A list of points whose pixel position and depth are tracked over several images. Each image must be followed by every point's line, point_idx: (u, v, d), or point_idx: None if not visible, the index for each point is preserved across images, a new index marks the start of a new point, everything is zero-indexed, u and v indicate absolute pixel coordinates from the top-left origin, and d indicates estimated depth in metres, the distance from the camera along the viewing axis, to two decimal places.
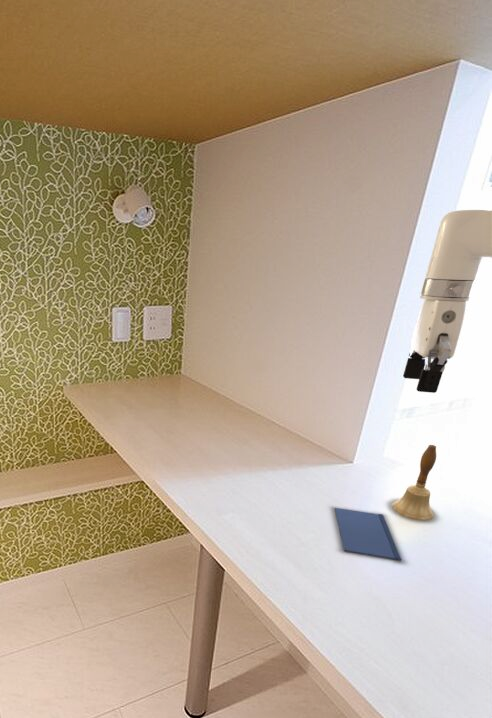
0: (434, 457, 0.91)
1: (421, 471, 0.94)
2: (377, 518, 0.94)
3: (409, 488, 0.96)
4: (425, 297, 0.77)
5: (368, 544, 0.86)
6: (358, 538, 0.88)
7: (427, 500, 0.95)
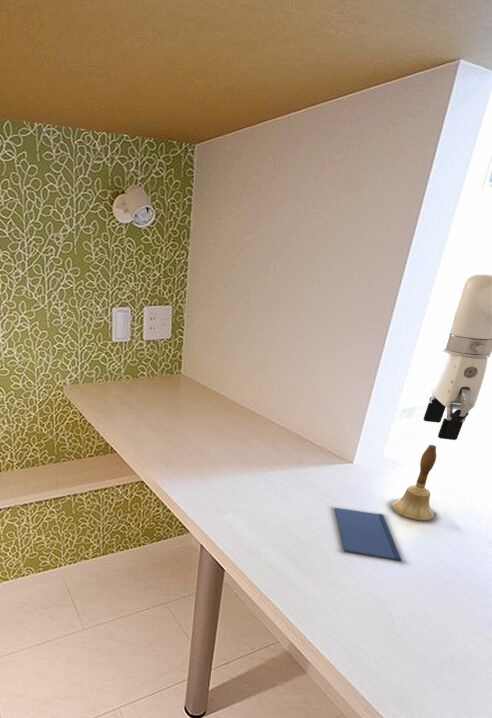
0: (434, 457, 0.91)
1: (421, 471, 0.94)
2: (377, 518, 0.94)
3: (409, 488, 0.96)
4: (448, 352, 0.82)
5: (368, 544, 0.86)
6: (358, 538, 0.88)
7: (427, 500, 0.95)
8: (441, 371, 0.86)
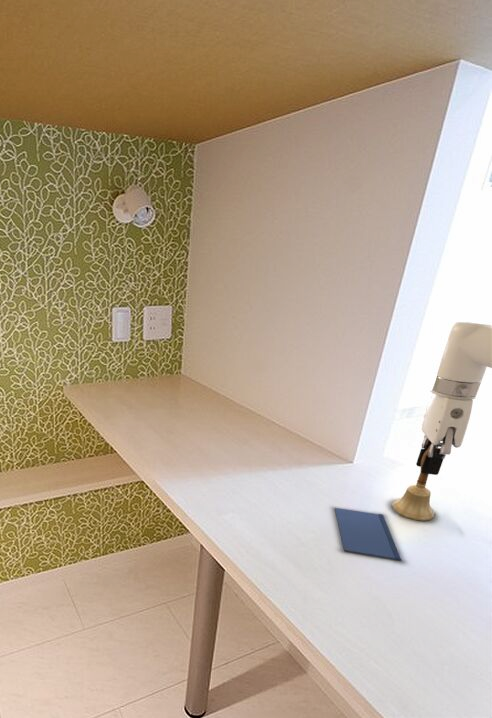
0: None
1: None
2: (377, 518, 0.94)
3: (409, 488, 0.96)
4: (435, 393, 0.85)
5: (368, 544, 0.86)
6: (358, 538, 0.88)
7: (427, 500, 0.94)
8: (429, 409, 0.90)
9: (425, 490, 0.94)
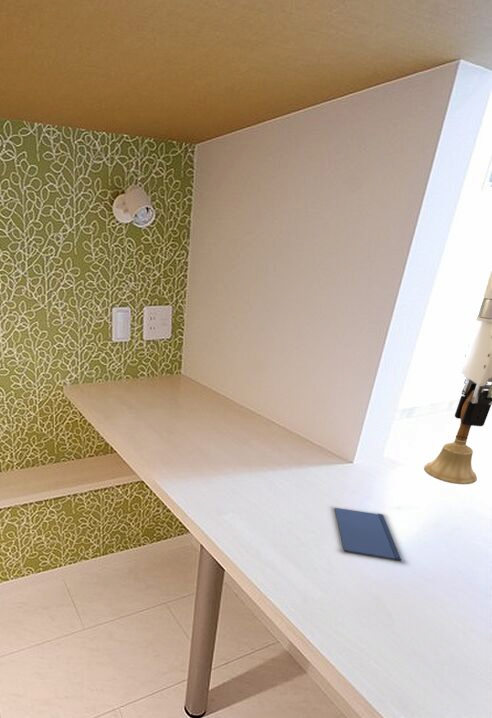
0: None
1: (462, 424, 0.76)
2: (377, 518, 0.94)
3: (446, 446, 0.79)
4: (483, 319, 0.68)
5: (368, 544, 0.86)
6: (358, 538, 0.88)
7: (469, 459, 0.77)
8: (473, 345, 0.73)
9: (466, 447, 0.77)
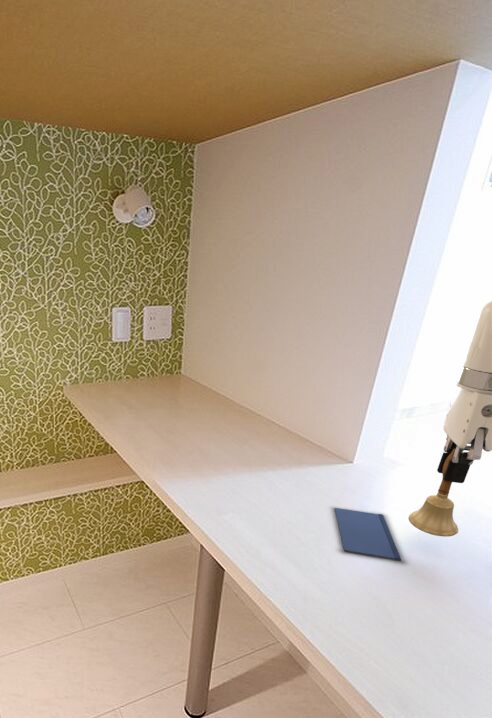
0: None
1: None
2: (377, 518, 0.94)
3: (429, 498, 0.83)
4: (463, 387, 0.72)
5: (368, 544, 0.86)
6: (358, 538, 0.88)
7: (450, 513, 0.81)
8: (454, 407, 0.76)
9: (448, 501, 0.81)
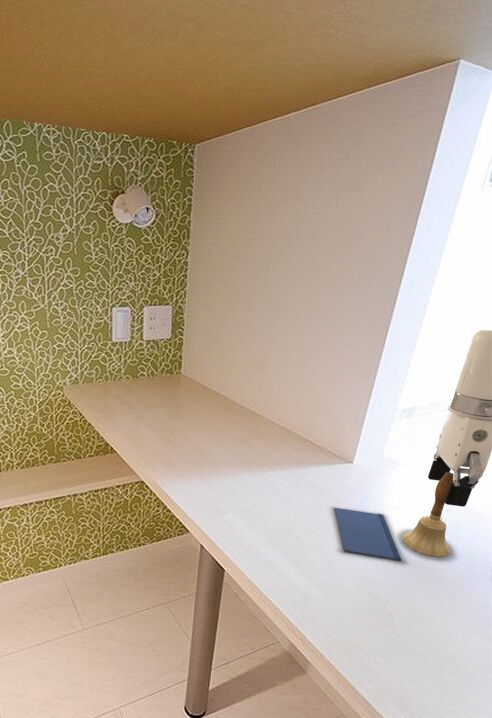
0: None
1: (436, 501, 0.82)
2: (377, 518, 0.94)
3: (422, 520, 0.85)
4: (454, 411, 0.74)
5: (368, 544, 0.86)
6: (358, 538, 0.88)
7: (443, 534, 0.83)
8: (447, 429, 0.78)
9: (440, 523, 0.83)
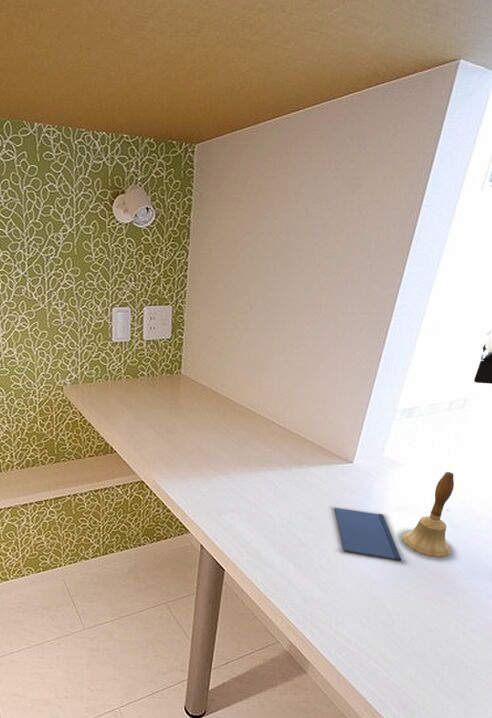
0: (451, 486, 0.80)
1: (436, 501, 0.82)
2: (377, 518, 0.94)
3: (422, 520, 0.85)
4: None
5: (368, 544, 0.86)
6: (358, 538, 0.88)
7: (443, 534, 0.83)
8: None
9: (440, 523, 0.83)
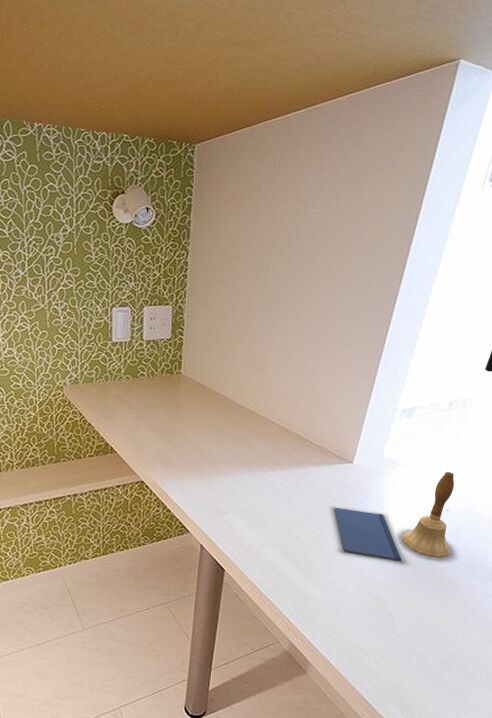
0: (451, 486, 0.80)
1: (436, 501, 0.82)
2: (377, 518, 0.94)
3: (422, 520, 0.85)
4: None
5: (368, 544, 0.86)
6: (358, 538, 0.88)
7: (443, 534, 0.83)
8: None
9: (440, 523, 0.83)
